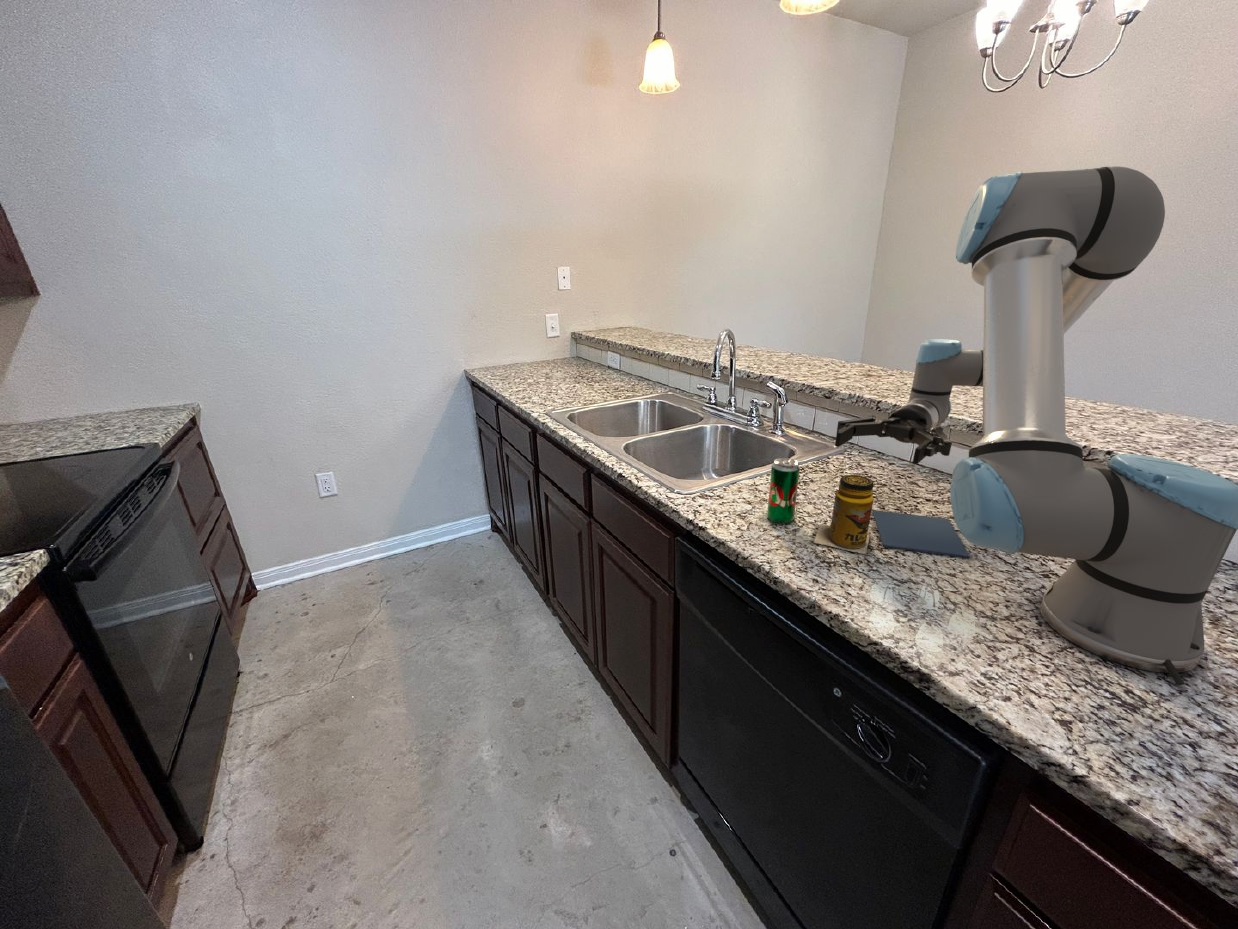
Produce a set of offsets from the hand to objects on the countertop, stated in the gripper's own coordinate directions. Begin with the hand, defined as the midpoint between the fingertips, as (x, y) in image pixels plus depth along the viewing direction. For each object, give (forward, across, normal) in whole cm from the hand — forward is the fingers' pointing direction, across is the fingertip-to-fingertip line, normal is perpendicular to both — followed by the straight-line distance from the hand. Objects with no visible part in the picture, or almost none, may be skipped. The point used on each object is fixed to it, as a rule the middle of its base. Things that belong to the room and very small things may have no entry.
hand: (875, 447), depth 90 cm
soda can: (+10, +12, -15) cm, 22 cm away
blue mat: (-2, -9, -15) cm, 18 cm away
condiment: (+10, 0, -15) cm, 18 cm away
